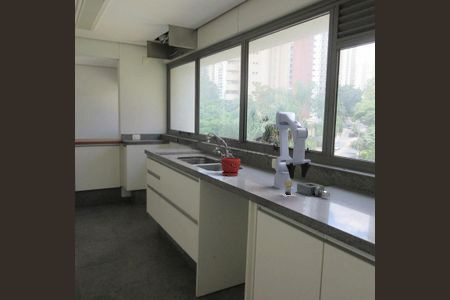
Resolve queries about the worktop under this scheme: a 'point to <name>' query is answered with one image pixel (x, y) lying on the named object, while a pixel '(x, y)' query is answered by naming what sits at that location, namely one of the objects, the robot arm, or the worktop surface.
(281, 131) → the robot arm
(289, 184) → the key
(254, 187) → the worktop surface
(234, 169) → the plant pot
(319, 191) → the chuck
